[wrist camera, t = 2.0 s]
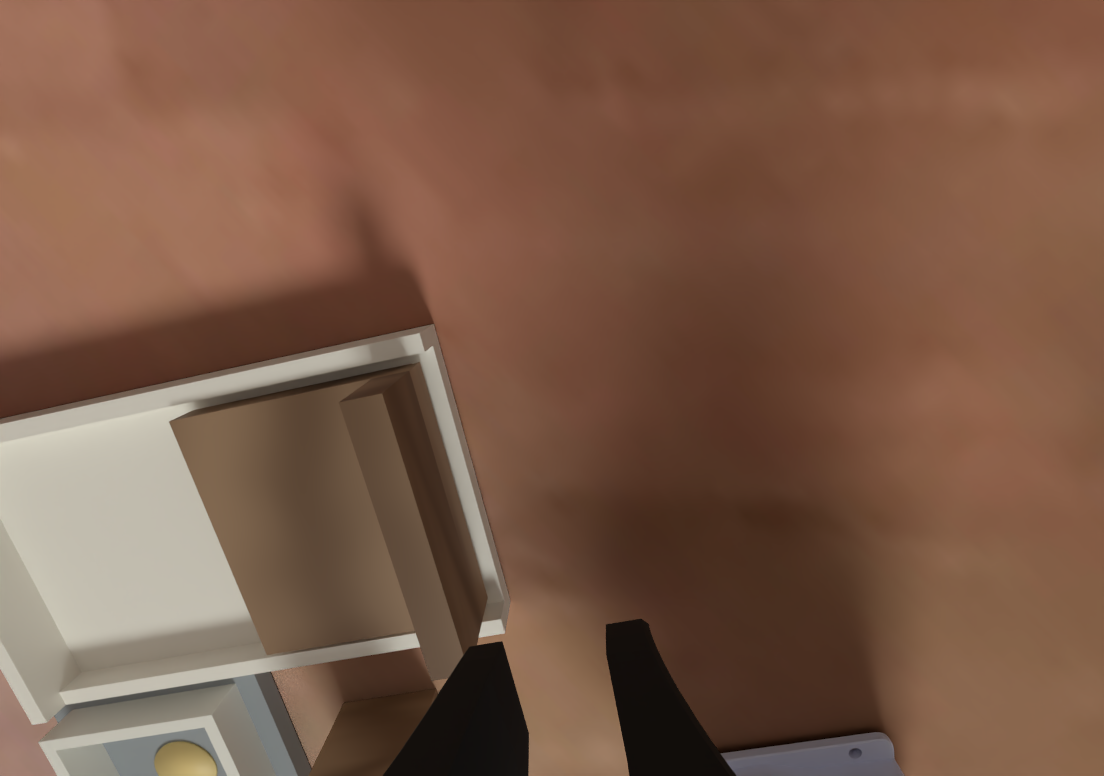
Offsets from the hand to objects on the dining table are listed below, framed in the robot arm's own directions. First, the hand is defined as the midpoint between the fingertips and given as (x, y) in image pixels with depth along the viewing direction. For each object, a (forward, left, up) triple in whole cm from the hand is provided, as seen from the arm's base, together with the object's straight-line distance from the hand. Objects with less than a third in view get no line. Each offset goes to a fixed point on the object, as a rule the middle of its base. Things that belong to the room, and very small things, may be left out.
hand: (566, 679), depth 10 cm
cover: (+8, 0, -9) cm, 12 cm away
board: (+13, 0, -10) cm, 16 cm away
